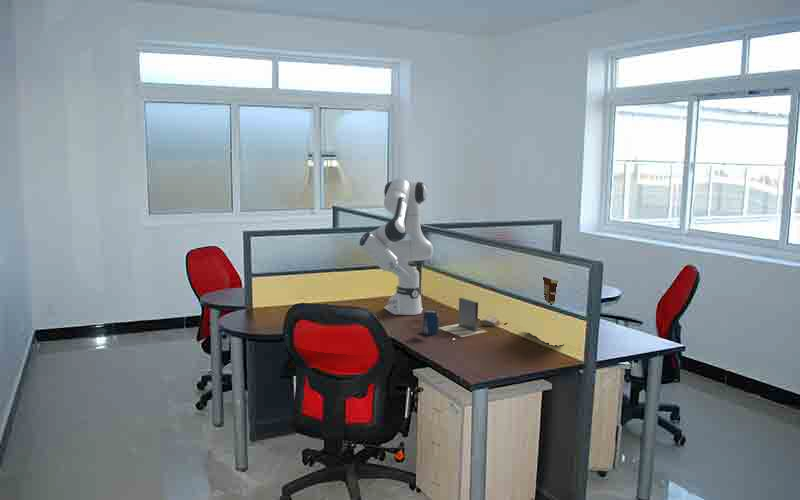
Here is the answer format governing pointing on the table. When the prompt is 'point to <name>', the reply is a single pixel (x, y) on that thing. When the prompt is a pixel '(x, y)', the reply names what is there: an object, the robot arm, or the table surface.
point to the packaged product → (490, 321)
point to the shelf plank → (460, 330)
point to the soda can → (430, 322)
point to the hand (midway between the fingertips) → (408, 282)
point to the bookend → (468, 314)
